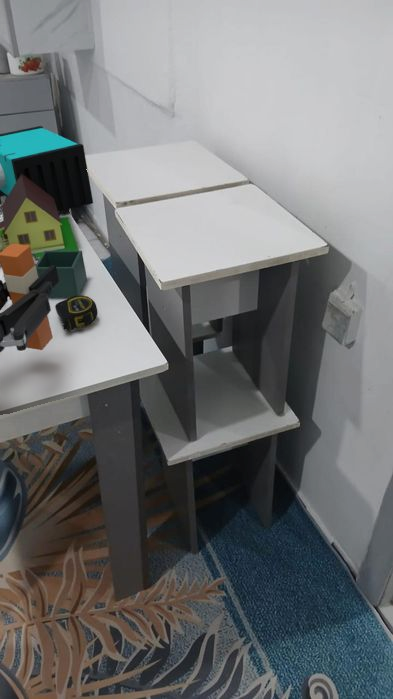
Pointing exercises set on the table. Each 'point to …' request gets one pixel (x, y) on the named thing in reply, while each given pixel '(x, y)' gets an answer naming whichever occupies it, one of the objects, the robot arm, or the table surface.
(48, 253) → the open box
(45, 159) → the electronic device
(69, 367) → the table surface
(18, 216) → the house model
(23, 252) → the block
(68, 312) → the tape measure
